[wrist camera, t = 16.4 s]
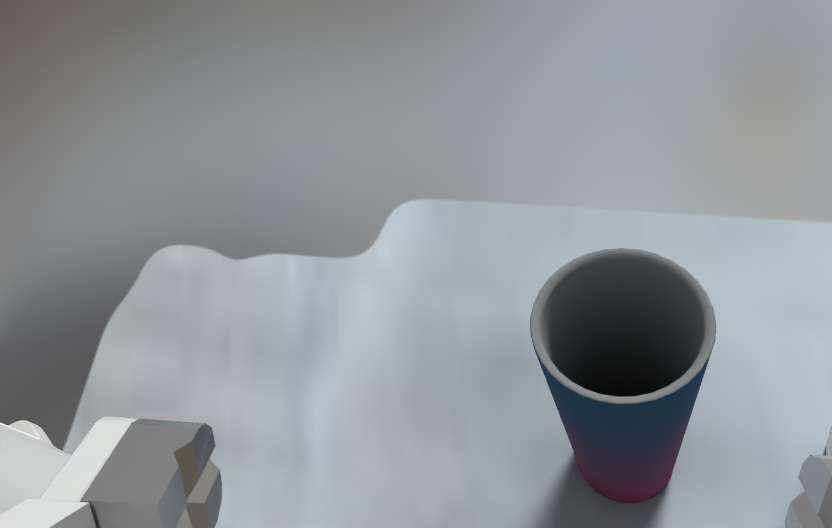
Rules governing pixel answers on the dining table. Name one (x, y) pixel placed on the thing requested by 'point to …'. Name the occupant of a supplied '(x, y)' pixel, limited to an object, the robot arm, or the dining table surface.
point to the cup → (624, 363)
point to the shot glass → (829, 444)
